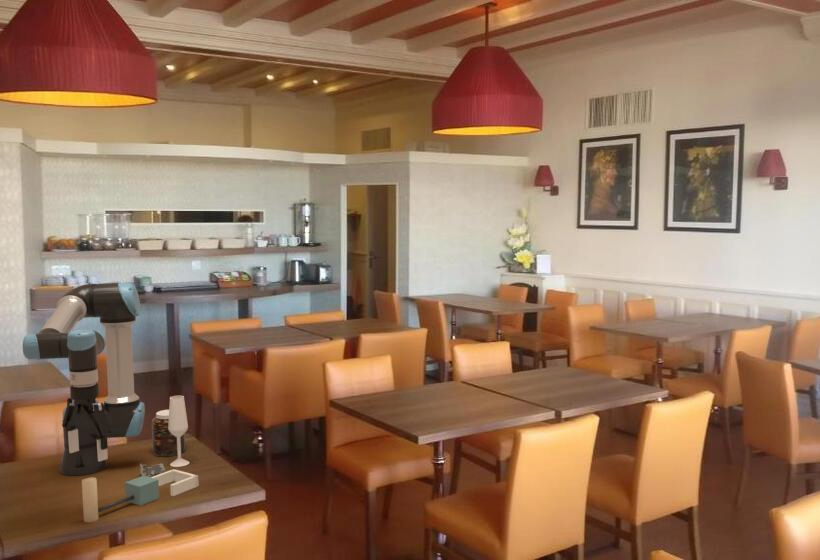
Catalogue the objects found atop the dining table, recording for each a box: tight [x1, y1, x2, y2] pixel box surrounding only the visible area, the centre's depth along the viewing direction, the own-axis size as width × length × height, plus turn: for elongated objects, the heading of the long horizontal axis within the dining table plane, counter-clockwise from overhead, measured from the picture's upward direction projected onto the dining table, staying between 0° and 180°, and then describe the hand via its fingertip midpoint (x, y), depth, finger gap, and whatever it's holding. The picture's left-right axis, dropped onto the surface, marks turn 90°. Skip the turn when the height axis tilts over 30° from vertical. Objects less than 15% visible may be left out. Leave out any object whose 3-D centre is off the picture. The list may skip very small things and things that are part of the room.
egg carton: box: [139, 463, 166, 478], centre depth 262 cm, size 11×8×4 cm
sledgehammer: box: [81, 475, 160, 523], centre depth 235 cm, size 7×24×12 cm, turn 147°
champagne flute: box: [168, 395, 190, 468], centre depth 275 cm, size 7×7×24 cm
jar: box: [151, 409, 186, 458], centre depth 288 cm, size 12×12×15 cm
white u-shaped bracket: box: [151, 468, 200, 497], centre depth 252 cm, size 12×10×4 cm
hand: (88, 455), depth 226 cm, fingers open, 13 cm apart
